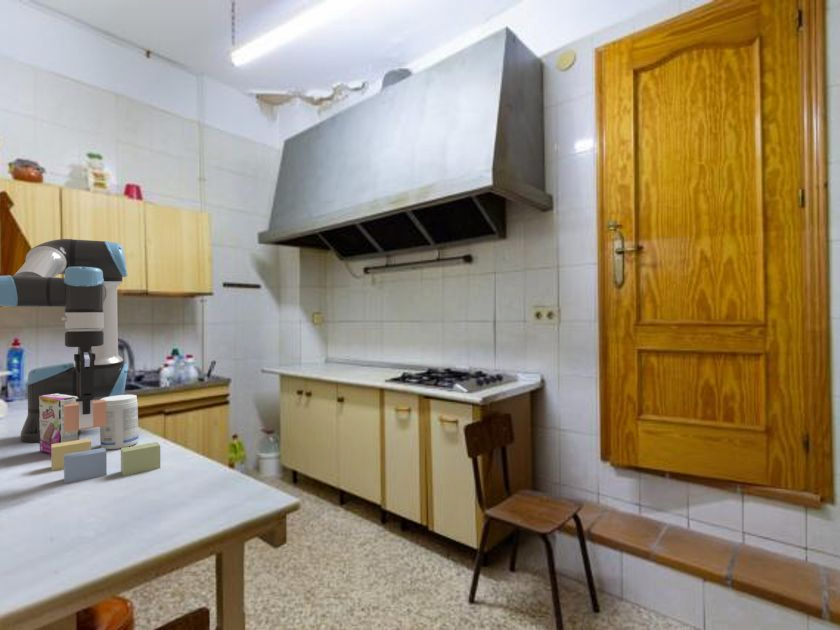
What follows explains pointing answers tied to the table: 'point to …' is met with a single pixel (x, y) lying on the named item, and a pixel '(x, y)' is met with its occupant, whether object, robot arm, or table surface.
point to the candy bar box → (54, 421)
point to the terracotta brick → (73, 415)
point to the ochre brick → (67, 451)
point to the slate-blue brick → (85, 465)
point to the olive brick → (140, 458)
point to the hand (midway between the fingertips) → (85, 425)
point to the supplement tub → (120, 422)
